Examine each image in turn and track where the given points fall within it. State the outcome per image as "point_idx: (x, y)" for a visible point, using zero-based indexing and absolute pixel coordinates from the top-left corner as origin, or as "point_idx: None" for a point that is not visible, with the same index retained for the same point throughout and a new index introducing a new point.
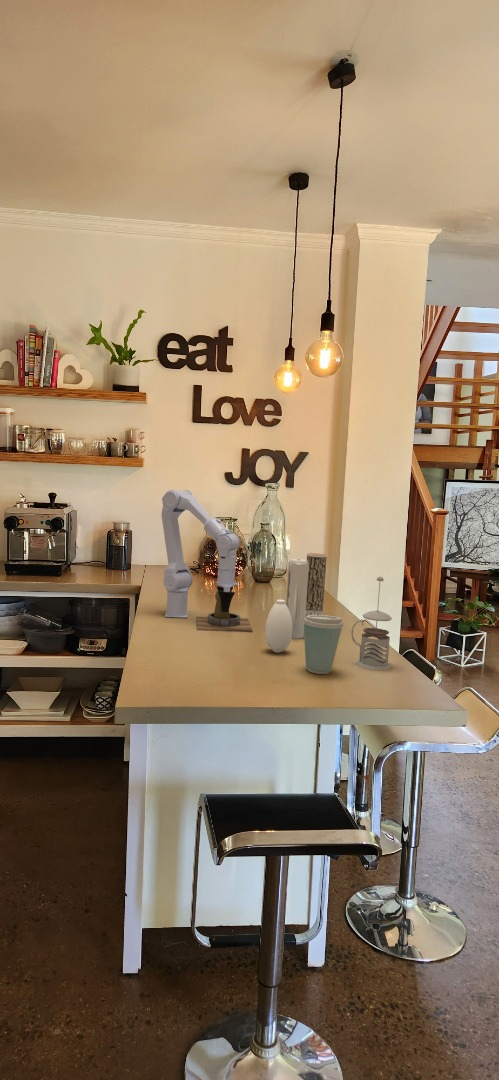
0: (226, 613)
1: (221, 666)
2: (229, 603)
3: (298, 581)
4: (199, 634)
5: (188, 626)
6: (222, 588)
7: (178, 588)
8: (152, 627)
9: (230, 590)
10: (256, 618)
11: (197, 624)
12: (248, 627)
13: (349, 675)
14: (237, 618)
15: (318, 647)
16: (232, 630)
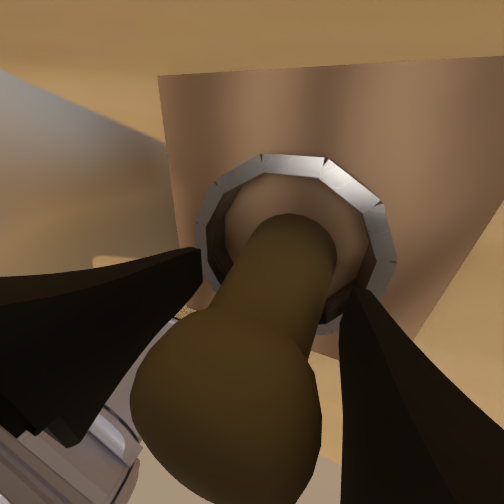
0: (322, 276)
1: None
2: (418, 360)
3: None
4: (488, 397)
5: (316, 368)
6: (60, 406)
7: (116, 455)
8: (325, 442)
9: (41, 316)
10: (106, 5)
11: (315, 351)
12: (440, 93)
13: None
14: (369, 190)
15: None
16: (475, 235)
